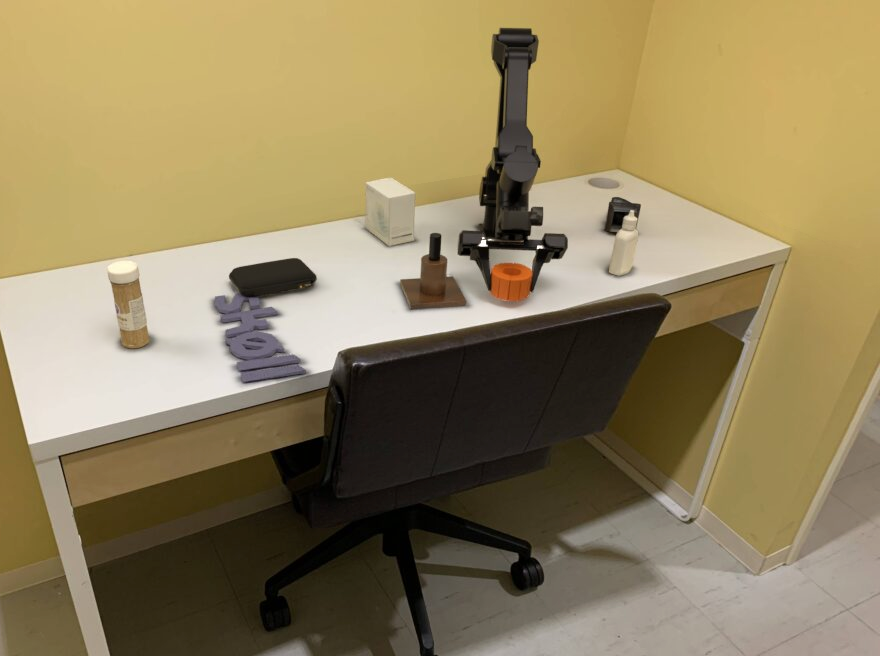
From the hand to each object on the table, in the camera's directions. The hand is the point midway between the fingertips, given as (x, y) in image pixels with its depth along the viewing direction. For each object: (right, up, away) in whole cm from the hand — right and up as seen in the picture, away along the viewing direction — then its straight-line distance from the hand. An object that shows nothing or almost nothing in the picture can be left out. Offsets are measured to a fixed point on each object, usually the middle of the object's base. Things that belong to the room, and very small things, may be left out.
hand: (510, 291), depth 134 cm
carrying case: (-42, +2, +6) cm, 43 cm away
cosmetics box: (-20, +15, +27) cm, 37 cm away
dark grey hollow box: (+29, +18, +32) cm, 47 cm away
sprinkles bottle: (-62, -10, -10) cm, 64 cm away
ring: (0, 0, +2) cm, 2 cm away
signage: (-43, -8, -8) cm, 45 cm away
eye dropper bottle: (+24, +5, +13) cm, 27 cm away
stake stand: (-13, 0, +4) cm, 14 cm away
